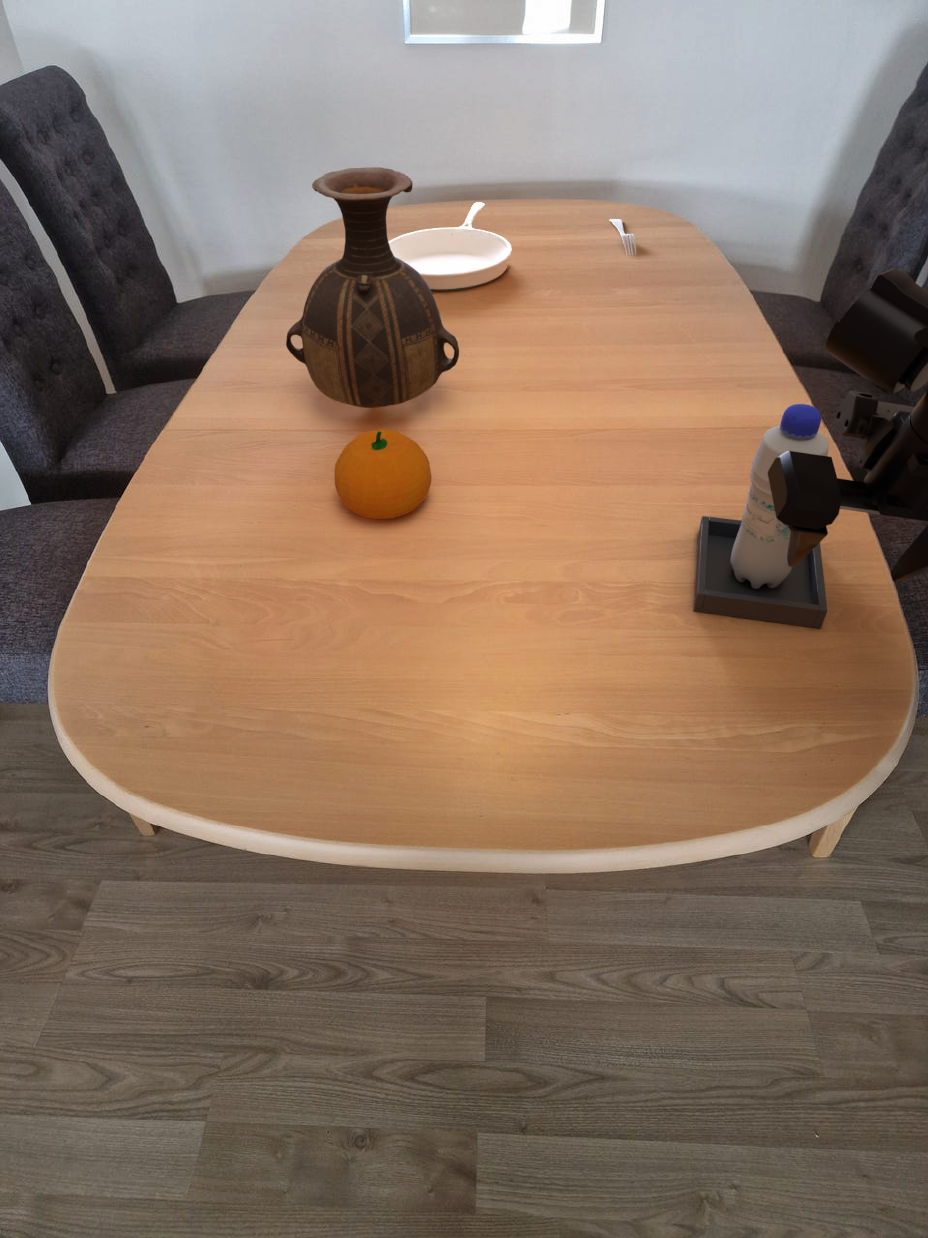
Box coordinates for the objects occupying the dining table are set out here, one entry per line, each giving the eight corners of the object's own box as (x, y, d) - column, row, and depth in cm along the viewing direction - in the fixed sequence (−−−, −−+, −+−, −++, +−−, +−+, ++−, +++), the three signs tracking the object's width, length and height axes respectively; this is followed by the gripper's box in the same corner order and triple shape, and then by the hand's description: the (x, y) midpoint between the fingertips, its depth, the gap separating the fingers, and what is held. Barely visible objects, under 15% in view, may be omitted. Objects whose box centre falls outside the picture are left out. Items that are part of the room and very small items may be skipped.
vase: (279, 421, 115) (230, 193, 94) (348, 363, 128) (319, 150, 107) (422, 454, 108) (403, 214, 87) (481, 389, 120) (477, 165, 99)
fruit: (447, 484, 102) (443, 413, 96) (411, 538, 95) (404, 465, 88) (363, 469, 106) (353, 399, 99) (322, 520, 98) (308, 448, 91)
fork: (620, 231, 174) (621, 217, 172) (638, 255, 157) (640, 240, 155) (606, 232, 174) (607, 218, 172) (624, 256, 157) (625, 240, 155)
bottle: (712, 566, 88) (751, 400, 75) (762, 548, 90) (809, 384, 76) (751, 603, 84) (801, 434, 70) (803, 584, 86) (861, 416, 72)
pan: (362, 289, 149) (359, 263, 146) (425, 221, 175) (424, 198, 172) (493, 299, 144) (493, 273, 140) (538, 228, 170) (538, 205, 167)
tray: (812, 546, 91) (818, 529, 89) (821, 629, 82) (827, 611, 80) (698, 533, 94) (702, 515, 92) (693, 611, 84) (697, 593, 82)
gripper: (1038, 378, 62) (923, 516, 75) (802, 342, 61) (725, 488, 74) (1093, 479, 55) (956, 613, 68) (829, 441, 55) (740, 583, 67)
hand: (841, 570), depth 69 cm, fingers open, 9 cm apart
